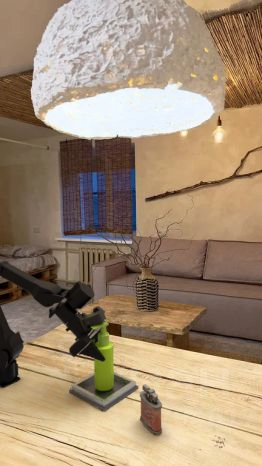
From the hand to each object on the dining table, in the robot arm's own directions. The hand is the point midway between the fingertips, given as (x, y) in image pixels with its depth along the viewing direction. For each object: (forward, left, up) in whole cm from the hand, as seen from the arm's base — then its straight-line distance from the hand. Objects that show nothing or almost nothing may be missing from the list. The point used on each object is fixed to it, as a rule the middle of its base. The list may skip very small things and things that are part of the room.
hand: (107, 355), depth 105 cm
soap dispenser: (-1, +1, -10) cm, 10 cm away
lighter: (-5, -20, -11) cm, 23 cm away
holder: (-1, +1, -11) cm, 11 cm away
